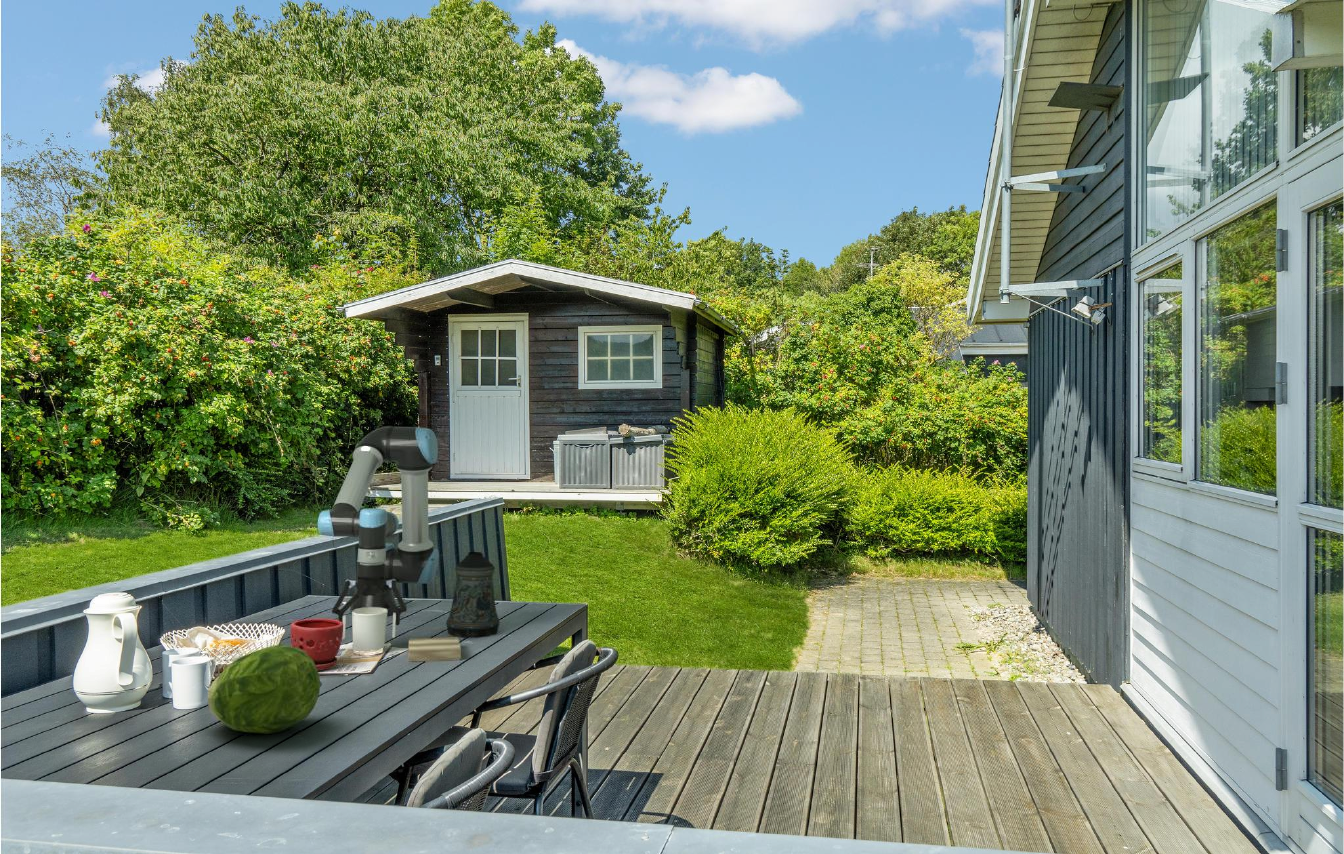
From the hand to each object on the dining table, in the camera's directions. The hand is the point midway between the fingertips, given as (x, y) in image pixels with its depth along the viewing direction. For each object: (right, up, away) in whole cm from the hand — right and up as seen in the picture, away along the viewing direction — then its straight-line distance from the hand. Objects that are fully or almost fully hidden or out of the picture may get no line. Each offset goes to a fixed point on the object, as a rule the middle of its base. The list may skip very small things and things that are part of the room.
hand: (368, 637), depth 260 cm
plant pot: (-9, -5, -16) cm, 19 cm away
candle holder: (0, -5, 0) cm, 5 cm away
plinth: (+19, -5, +1) cm, 19 cm away
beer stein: (+22, -5, +30) cm, 38 cm away
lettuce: (-2, -5, -64) cm, 64 cm away
